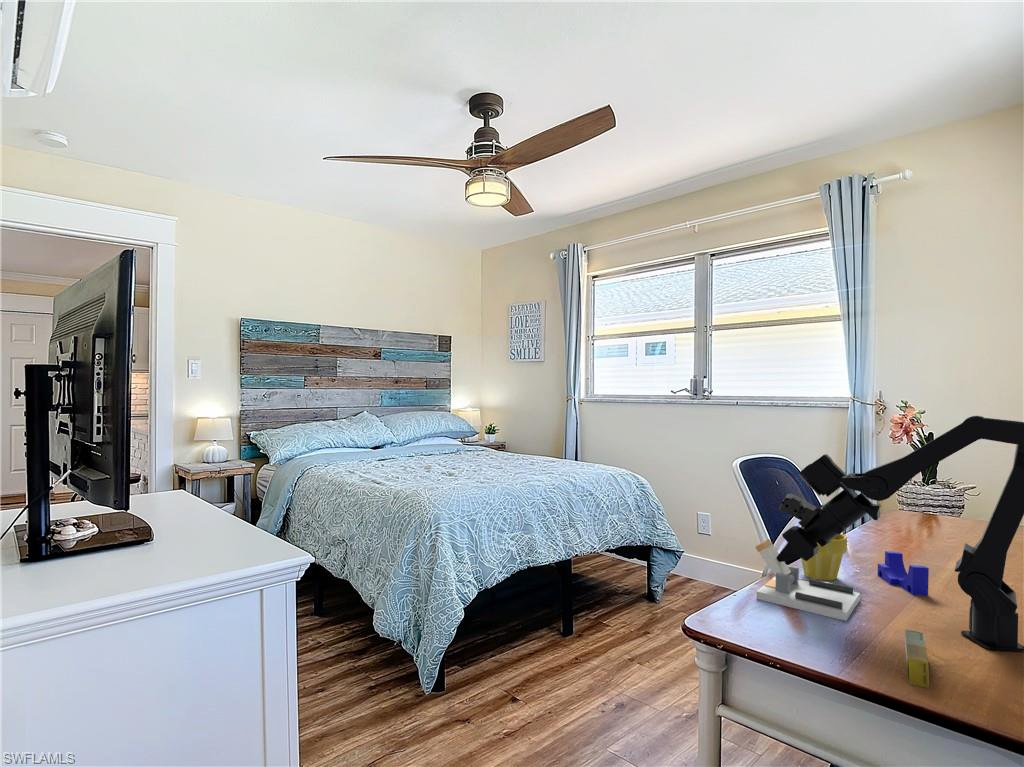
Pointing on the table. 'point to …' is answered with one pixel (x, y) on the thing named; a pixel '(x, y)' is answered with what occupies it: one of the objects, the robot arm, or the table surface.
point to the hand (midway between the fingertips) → (778, 559)
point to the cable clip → (904, 574)
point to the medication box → (916, 659)
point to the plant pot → (826, 560)
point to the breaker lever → (773, 559)
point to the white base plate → (810, 595)
